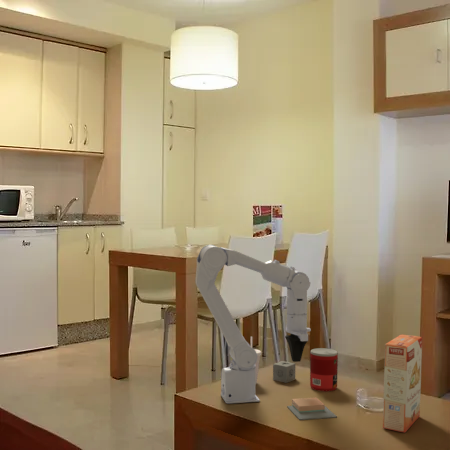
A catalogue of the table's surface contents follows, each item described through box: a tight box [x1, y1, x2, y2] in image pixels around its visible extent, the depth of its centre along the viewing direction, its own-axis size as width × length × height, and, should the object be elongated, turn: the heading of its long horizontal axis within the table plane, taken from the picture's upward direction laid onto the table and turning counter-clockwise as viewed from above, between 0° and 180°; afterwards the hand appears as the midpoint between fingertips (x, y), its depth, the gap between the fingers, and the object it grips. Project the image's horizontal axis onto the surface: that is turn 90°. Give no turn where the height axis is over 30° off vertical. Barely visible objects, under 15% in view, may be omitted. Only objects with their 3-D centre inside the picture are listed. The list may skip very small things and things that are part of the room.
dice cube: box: [272, 360, 297, 384], centre depth 186 cm, size 5×5×5 cm
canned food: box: [309, 347, 339, 392], centre depth 178 cm, size 8×8×11 cm
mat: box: [286, 405, 338, 421], centre depth 157 cm, size 10×10×1 cm
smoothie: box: [250, 336, 262, 385], centre depth 182 cm, size 6×6×14 cm
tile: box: [291, 397, 326, 412], centre depth 159 cm, size 7×2×6 cm
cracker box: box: [382, 334, 423, 434], centre depth 149 cm, size 14×6×21 cm, turn 148°
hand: (296, 361), depth 170 cm, fingers closed
